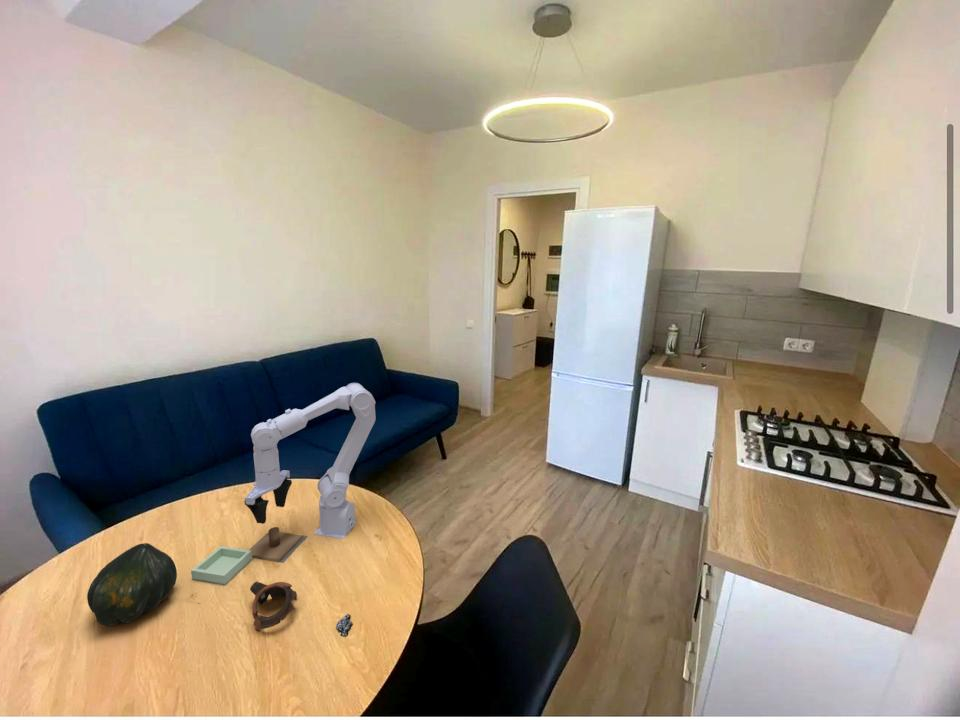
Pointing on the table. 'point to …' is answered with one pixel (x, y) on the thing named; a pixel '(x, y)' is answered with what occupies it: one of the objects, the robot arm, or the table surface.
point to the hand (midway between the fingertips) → (271, 514)
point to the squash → (131, 585)
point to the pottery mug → (275, 591)
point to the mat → (291, 550)
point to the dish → (221, 565)
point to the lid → (275, 545)
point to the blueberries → (344, 625)
